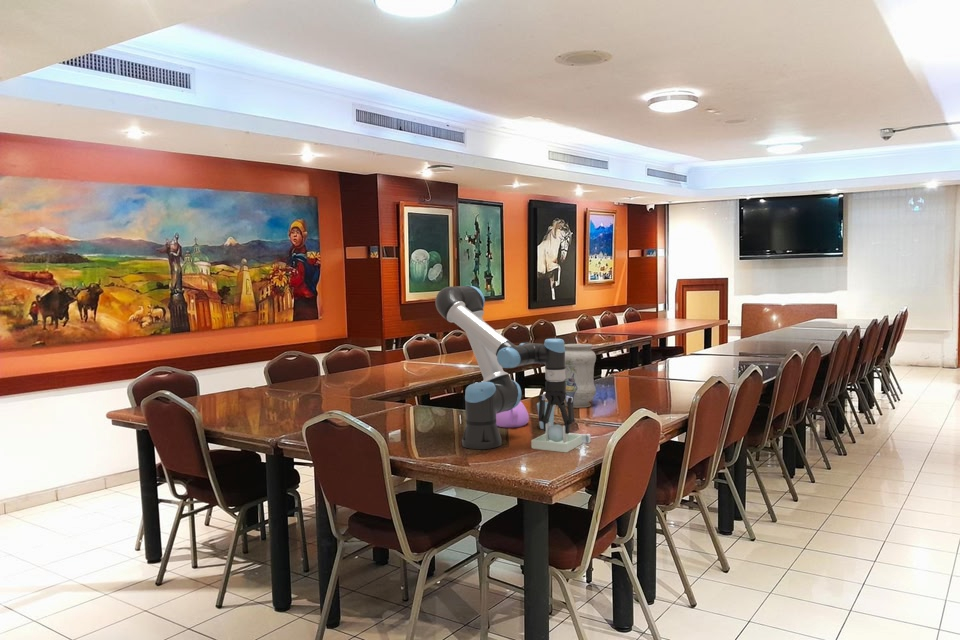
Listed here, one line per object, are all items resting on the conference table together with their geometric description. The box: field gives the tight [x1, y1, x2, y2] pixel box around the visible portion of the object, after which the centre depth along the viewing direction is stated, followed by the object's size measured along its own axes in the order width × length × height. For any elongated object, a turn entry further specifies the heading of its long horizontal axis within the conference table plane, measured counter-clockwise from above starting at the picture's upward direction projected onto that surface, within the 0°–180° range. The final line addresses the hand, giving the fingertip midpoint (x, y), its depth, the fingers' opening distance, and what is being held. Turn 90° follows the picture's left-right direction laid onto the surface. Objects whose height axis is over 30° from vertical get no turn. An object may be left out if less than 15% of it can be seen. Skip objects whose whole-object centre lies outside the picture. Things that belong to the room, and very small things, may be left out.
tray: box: [530, 432, 583, 453], centre depth 259 cm, size 14×14×3 cm
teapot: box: [496, 400, 530, 429], centre depth 299 cm, size 22×16×12 cm
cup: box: [536, 401, 556, 430], centre depth 290 cm, size 8×8×10 cm
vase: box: [564, 343, 597, 409], centre depth 335 cm, size 18×18×30 cm
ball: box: [548, 423, 563, 442], centre depth 259 cm, size 6×6×6 cm
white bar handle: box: [544, 431, 591, 444], centre depth 267 cm, size 18×2×3 cm, turn 59°
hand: (556, 440), depth 259 cm, fingers closed on ball, 6 cm apart
